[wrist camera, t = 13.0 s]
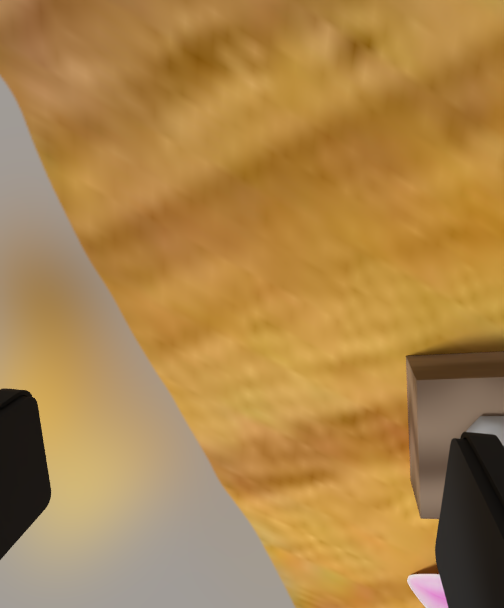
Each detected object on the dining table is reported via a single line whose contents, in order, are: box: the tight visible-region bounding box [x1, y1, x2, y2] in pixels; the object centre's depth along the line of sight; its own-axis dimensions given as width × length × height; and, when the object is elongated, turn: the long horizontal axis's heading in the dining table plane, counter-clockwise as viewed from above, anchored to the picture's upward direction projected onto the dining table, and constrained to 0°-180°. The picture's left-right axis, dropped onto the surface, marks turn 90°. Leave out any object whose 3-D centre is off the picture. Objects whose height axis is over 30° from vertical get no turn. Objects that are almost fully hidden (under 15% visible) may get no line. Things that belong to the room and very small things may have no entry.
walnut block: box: [406, 351, 504, 519], centre depth 33 cm, size 12×12×5 cm
